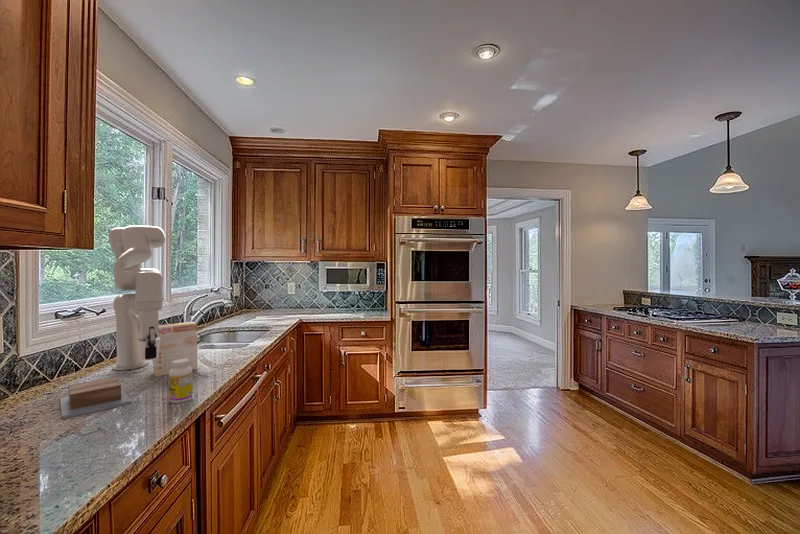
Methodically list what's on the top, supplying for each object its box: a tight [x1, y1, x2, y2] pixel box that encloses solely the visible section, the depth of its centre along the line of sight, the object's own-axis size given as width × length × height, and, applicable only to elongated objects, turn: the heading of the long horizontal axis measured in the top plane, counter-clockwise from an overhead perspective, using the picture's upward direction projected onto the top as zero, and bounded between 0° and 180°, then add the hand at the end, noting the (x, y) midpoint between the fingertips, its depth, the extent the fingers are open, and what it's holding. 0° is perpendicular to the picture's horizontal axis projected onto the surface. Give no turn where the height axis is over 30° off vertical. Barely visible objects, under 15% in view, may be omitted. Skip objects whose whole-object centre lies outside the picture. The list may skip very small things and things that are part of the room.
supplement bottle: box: [168, 359, 194, 404], centre depth 117 cm, size 7×7×13 cm
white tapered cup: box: [137, 337, 160, 361], centre depth 128 cm, size 7×7×7 cm
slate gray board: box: [59, 385, 132, 420], centre depth 116 cm, size 20×16×1 cm
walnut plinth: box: [68, 376, 122, 410], centre depth 116 cm, size 12×12×5 cm
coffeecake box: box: [152, 321, 199, 377], centre depth 149 cm, size 15×7×20 cm, turn 133°
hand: (148, 356), depth 128 cm, fingers closed on white tapered cup, 5 cm apart
